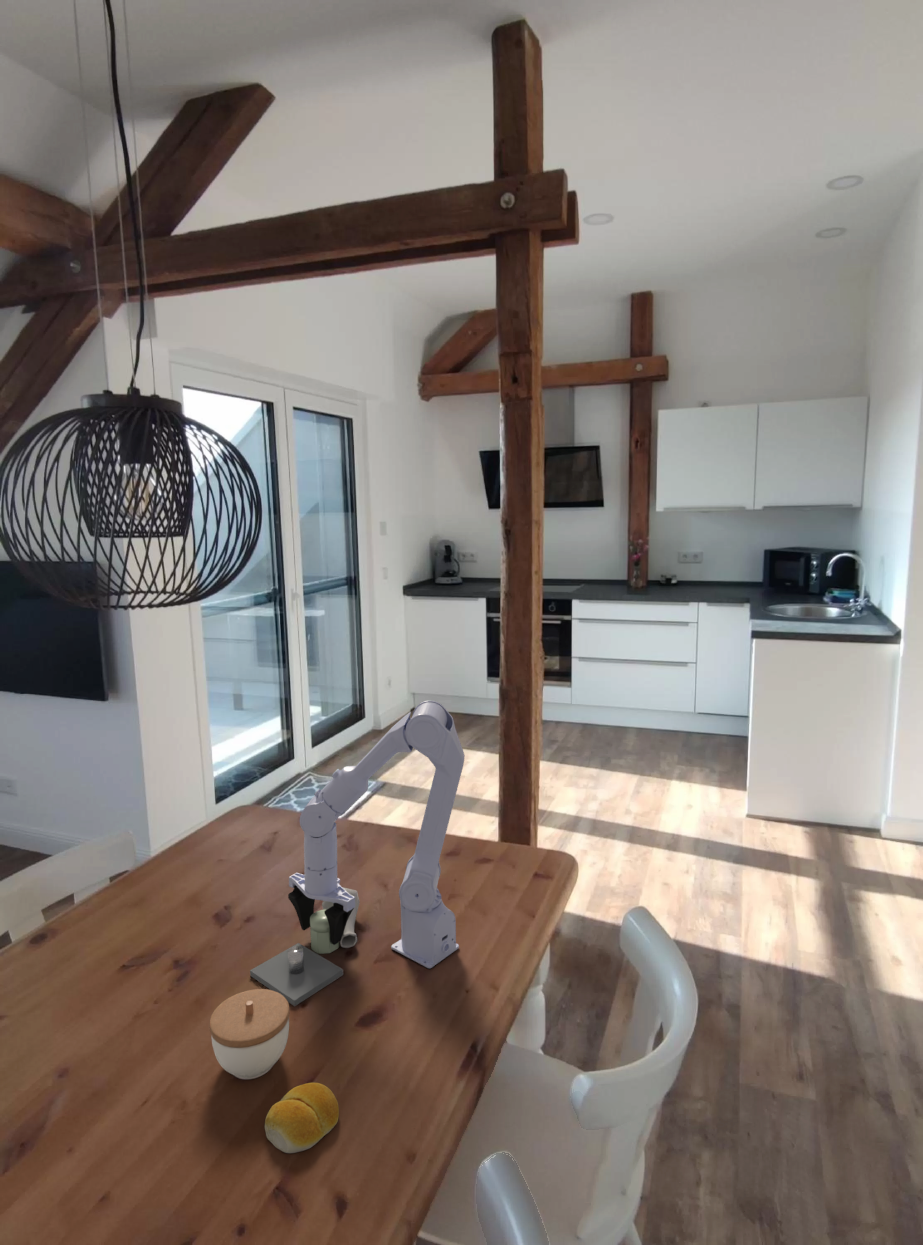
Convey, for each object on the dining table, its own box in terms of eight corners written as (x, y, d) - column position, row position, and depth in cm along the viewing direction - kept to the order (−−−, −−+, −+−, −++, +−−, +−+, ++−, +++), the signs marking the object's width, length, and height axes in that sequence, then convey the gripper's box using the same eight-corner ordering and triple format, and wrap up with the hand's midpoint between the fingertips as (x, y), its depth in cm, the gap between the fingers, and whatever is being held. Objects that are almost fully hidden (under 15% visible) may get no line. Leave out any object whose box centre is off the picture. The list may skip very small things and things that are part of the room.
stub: (307, 969, 121) (306, 950, 121) (295, 976, 119) (294, 957, 119) (297, 963, 123) (296, 944, 122) (285, 970, 121) (284, 951, 120)
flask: (362, 885, 137) (371, 923, 128) (356, 916, 139) (365, 955, 131) (323, 887, 135) (331, 926, 126) (319, 918, 137) (325, 959, 128)
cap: (345, 944, 130) (344, 915, 129) (323, 957, 126) (322, 928, 125) (327, 934, 133) (326, 906, 132) (305, 946, 129) (304, 918, 128)
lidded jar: (307, 1052, 104) (304, 993, 103) (251, 1105, 95) (247, 1040, 93) (254, 1026, 109) (250, 969, 108) (196, 1073, 100) (191, 1012, 99)
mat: (343, 974, 121) (343, 969, 121) (294, 1006, 114) (294, 1000, 113) (298, 948, 129) (298, 942, 129) (250, 975, 121) (250, 970, 121)
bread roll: (351, 1116, 93) (350, 1088, 93) (298, 1167, 86) (296, 1137, 85) (307, 1087, 98) (305, 1060, 97) (253, 1133, 91) (251, 1105, 90)
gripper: (367, 866, 127) (367, 937, 129) (308, 843, 135) (309, 911, 137) (338, 882, 121) (339, 957, 123) (279, 858, 129) (280, 928, 131)
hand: (321, 934), depth 129 cm, fingers open, 7 cm apart
